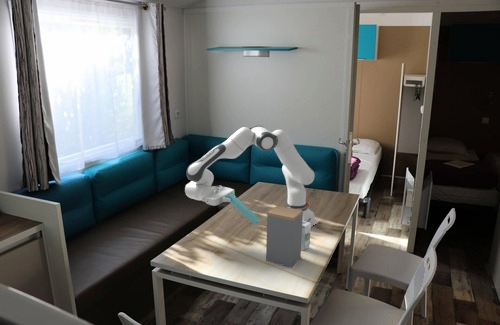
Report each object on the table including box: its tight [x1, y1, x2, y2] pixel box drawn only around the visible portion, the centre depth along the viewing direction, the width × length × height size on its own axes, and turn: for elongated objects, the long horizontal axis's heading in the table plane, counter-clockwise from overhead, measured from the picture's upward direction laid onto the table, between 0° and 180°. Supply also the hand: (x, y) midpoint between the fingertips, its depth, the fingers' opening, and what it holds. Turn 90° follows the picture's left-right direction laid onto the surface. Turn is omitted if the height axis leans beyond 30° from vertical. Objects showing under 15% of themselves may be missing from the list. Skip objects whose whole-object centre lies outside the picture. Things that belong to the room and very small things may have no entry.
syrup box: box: [301, 221, 312, 252], centre depth 230 cm, size 6×6×14 cm
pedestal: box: [265, 205, 303, 268], centre depth 215 cm, size 14×12×26 cm
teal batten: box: [226, 193, 261, 226], centre depth 224 cm, size 21×3×3 cm
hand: (233, 199), depth 226 cm, fingers closed on teal batten, 3 cm apart
